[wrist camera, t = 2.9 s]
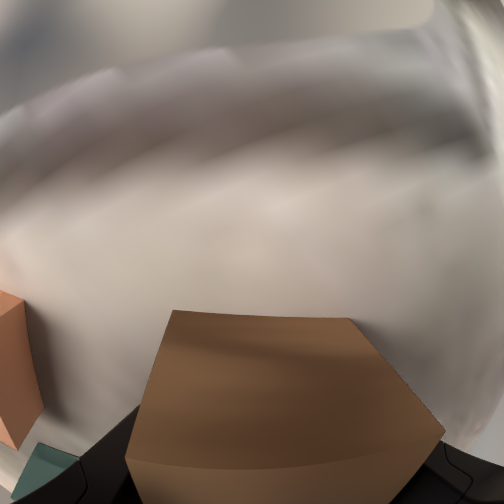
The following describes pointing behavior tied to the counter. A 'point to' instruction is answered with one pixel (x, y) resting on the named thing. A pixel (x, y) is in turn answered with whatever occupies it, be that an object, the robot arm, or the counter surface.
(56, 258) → the counter surface
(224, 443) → the walnut block
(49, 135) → the counter surface
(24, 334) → the terracotta carton
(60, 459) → the tote
